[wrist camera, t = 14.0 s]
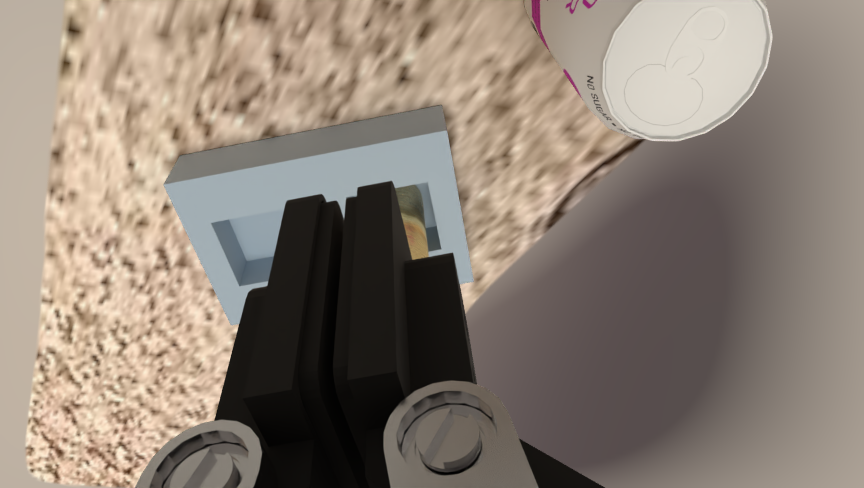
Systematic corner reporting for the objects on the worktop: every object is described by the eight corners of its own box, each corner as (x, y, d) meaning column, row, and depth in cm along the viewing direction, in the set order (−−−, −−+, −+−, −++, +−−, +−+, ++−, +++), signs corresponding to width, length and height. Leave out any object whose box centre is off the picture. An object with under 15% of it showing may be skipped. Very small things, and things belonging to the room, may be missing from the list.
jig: (179, 155, 43) (163, 184, 40) (441, 104, 42) (447, 130, 39) (240, 291, 50) (231, 325, 47) (467, 249, 49) (473, 281, 46)
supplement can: (610, 67, 42) (706, 177, 29) (497, 18, 39) (551, 116, 27) (683, -59, 38) (830, 8, 25) (562, -121, 35) (659, -81, 23)
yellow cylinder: (356, 189, 44) (353, 261, 38) (410, 170, 44) (416, 240, 37) (379, 232, 47) (379, 307, 40) (430, 214, 46) (439, 288, 40)
